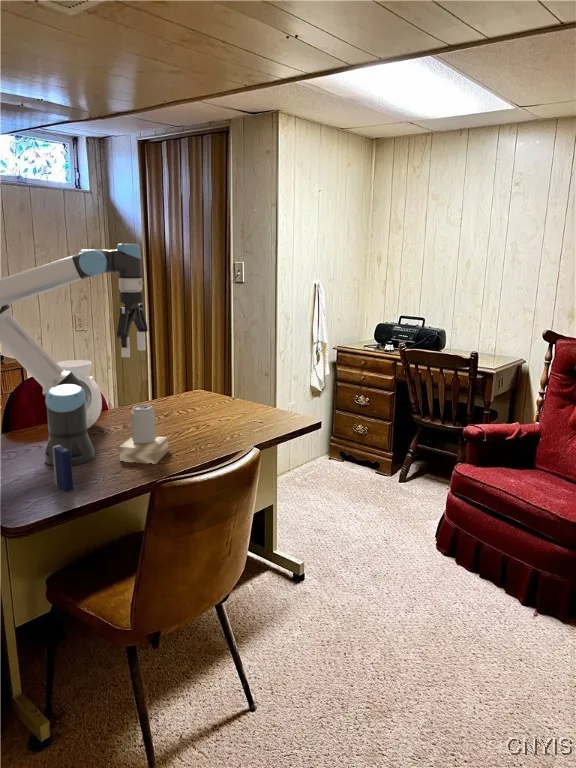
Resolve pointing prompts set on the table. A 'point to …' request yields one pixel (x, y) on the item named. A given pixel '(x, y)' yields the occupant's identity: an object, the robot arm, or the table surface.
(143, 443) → the can
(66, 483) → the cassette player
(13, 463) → the table surface
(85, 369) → the pitcher
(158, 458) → the pedestal
